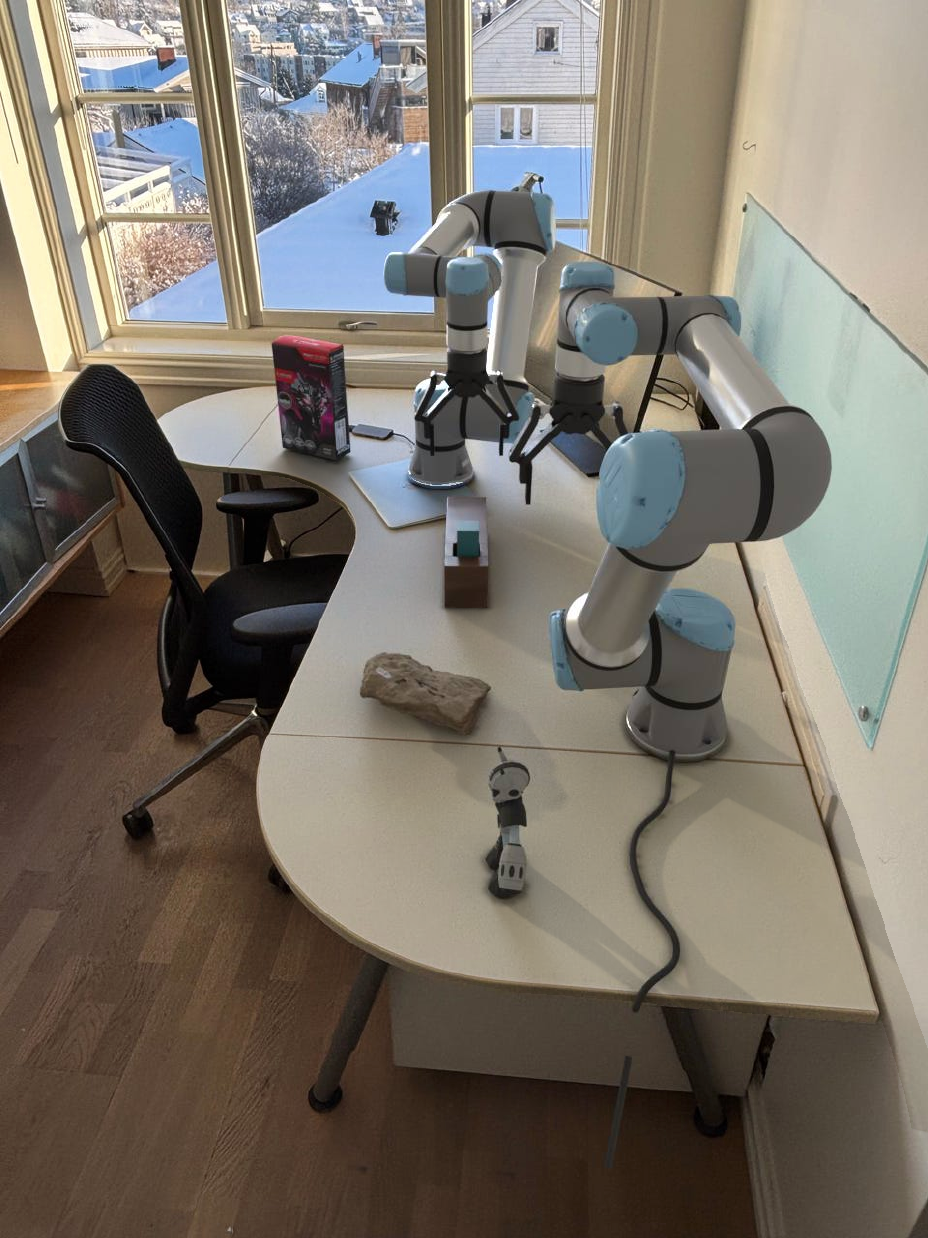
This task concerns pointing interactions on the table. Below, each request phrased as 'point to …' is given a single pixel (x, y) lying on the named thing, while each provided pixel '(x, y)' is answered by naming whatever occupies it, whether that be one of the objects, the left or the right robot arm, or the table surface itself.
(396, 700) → the stone
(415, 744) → the table surface
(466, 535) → the peg
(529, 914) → the table surface
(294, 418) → the graphics card box
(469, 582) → the hole block
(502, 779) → the robot
